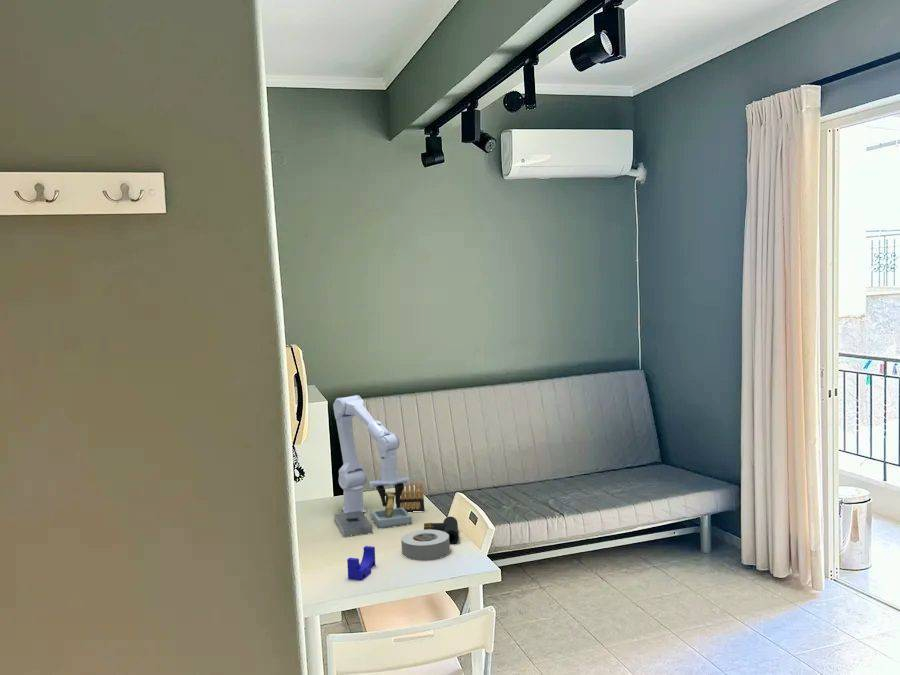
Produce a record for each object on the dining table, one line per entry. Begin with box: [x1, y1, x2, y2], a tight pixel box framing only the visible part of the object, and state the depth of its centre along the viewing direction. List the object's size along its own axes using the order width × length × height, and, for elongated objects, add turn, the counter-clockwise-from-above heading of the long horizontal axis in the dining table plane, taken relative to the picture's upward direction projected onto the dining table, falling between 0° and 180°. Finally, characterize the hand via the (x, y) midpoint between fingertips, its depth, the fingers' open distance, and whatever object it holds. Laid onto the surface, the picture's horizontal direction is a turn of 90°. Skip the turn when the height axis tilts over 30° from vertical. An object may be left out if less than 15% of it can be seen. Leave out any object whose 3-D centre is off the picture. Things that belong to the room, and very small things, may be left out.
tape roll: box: [400, 529, 451, 561], centre depth 243 cm, size 15×15×5 cm
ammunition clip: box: [395, 480, 426, 513], centre depth 287 cm, size 11×2×12 cm, turn 92°
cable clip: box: [346, 545, 376, 581], centre depth 227 cm, size 12×4×6 cm, turn 160°
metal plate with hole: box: [333, 511, 374, 537], centre depth 271 cm, size 20×10×2 cm, turn 18°
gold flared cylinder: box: [384, 491, 396, 518], centre depth 275 cm, size 4×4×9 cm
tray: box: [370, 508, 412, 529], centre depth 276 cm, size 12×12×3 cm
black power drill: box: [423, 516, 460, 545], centre depth 257 cm, size 12×5×15 cm
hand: (390, 505), depth 275 cm, fingers closed on gold flared cylinder, 4 cm apart
